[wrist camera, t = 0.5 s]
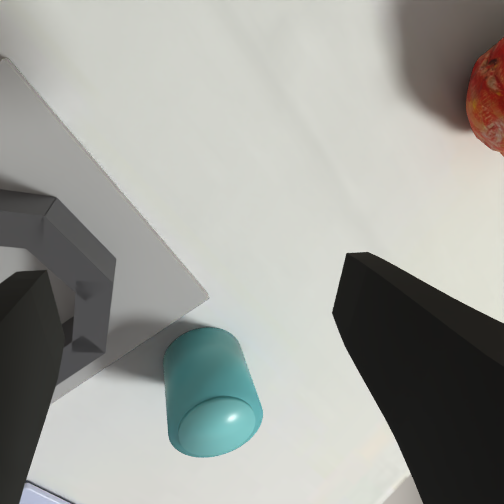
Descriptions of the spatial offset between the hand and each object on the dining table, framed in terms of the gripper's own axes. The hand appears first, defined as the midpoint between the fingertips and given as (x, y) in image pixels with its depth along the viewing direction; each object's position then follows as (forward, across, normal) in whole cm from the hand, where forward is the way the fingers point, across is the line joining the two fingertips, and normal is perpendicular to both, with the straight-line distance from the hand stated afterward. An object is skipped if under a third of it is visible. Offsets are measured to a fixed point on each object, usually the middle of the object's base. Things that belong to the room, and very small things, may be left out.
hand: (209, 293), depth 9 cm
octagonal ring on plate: (+9, +9, +6) cm, 14 cm away
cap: (+9, -1, +13) cm, 16 cm away
